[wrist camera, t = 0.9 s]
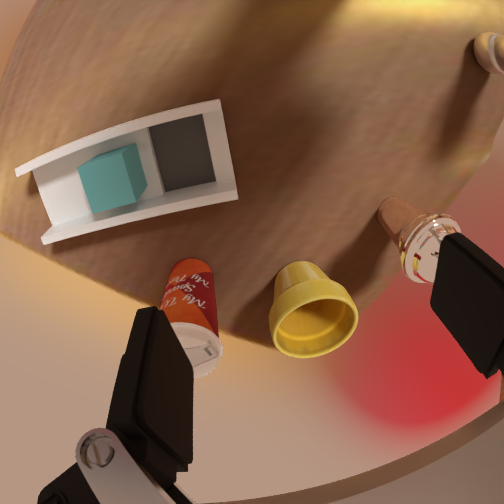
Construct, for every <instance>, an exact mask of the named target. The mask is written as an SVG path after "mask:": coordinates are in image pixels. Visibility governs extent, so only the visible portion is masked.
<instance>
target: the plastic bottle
mask: <svg viewBox="0 0 504 504" xmlns="http://www.w3.org/2000/svg"><path fill="white" fill-rule="evenodd" d="M473 49H474V54H475V57H476V59H477V61H478V63H479V64H480V65H481V66H482V67H483V68H484V69H485V70H486V71H488V72H490V73H493V74H497V75H503V74H504V35H500V34H497V33H492V32H485V33H481V34H479V35H478V36H477V37H476V39H475V40H474V45H473Z"/></svg>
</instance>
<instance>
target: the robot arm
mask: <svg viewBox="0 0 504 504" xmlns="http://www.w3.org/2000/svg"><path fill="white" fill-rule="evenodd" d="M430 304H431V308H432V309H433V311H434V312H435V313H436V315H437V316H438V317H439V319H440V320H441V321H442V322H443V324H444V325H445V326H446V328H447V329H448V330H449V331H450V333H451V334H452V335H453V337H454V338H455V340H456V341H457V342H458V343H459V345H460V346H461V348H462V349H463V350H464V352H465V353H466V355H467V356H468V357H469V359H470V360H471V361H472V363H473V364H474V366H475V367H476V369H477V370H478V371H479V372H480V373H483V374H484V376H485V378H486V379H488V378H489V377H491V376H492V375H494V374H495V373H497V371H498V369H500V371H501V389H500V401H499V403H498V404H497V405H496V406H494V407H493V408H491V409H490V410H488V411H487V412H485V413H484V414H483V415H481V416H479V417H478V418H476V419H475V420H473V421H471V422H470V423H468V424H466V425H465V426H463V427H461V428H460V429H458V430H457V431H455V432H453V433H451V434H449V435H447V436H446V437H444V438H442V439H440V440H438V441H436V442H434V443H432V444H430V445H429V446H427V447H424V448H422V449H420V450H418V451H416V452H414V453H412V454H410V455H407V456H405V457H403V458H401V459H398V460H395V461H393V462H391V463H388V464H386V465H383V466H380V467H378V468H375V469H372V470H370V471H367V472H364V473H361V474H358V475H355V476H352V477H349V478H346V479H343V480H339V481H336V482H332V483H329V484H325V485H321V486H317V487H313V488H309V489H305V490H300V491H296V492H291V493H286V494H280V495H274V496H268V497H262V498H255V499H248V500H240V501H231V502H220V503H204V504H504V268H503V267H502V266H501V265H500V264H499V263H497V262H496V261H495V260H494V259H493V258H491V257H490V256H489V255H488V254H487V253H485V252H484V251H483V250H482V249H480V248H479V247H478V246H477V245H475V244H474V243H473V242H472V241H470V240H469V239H468V238H466V237H465V236H464V235H462V234H461V233H459V232H455V233H452V234H448V235H446V236H444V238H443V240H442V241H441V243H440V249H439V255H438V262H437V268H436V274H435V279H434V285H433V290H432V295H431V300H430ZM193 380H194V371H193V367H192V364H191V362H190V360H189V358H188V356H187V355H186V353H185V351H184V349H183V347H182V345H181V343H180V341H179V339H178V338H177V336H176V334H175V332H174V330H173V328H172V326H171V324H170V322H169V320H168V318H167V316H166V314H165V312H164V311H163V310H162V309H161V310H158V308H157V307H156V306H152V307H147V308H142V309H138V310H137V312H136V316H135V319H134V322H133V326H132V330H131V333H130V337H129V341H128V344H127V348H126V352H125V354H124V355H123V356H122V358H121V362H120V366H119V370H118V374H117V378H116V382H115V386H114V391H113V395H112V400H111V405H110V409H109V414H108V419H107V424H106V428H95V429H92V430H90V431H88V432H86V433H85V434H84V435H83V436H82V437H81V439H80V440H79V442H78V444H77V447H76V460H77V462H76V463H75V464H74V465H73V466H71V467H70V468H69V469H67V470H66V471H65V472H64V473H62V474H61V475H60V476H59V477H57V478H56V479H55V480H54V481H52V482H51V483H50V484H48V485H47V486H46V487H44V489H43V490H42V491H41V492H40V494H39V496H38V502H37V504H196V503H195V502H194V501H193V500H192V499H191V498H190V497H189V496H188V495H187V494H186V493H185V492H184V491H183V490H182V489H181V488H180V487H179V486H178V485H177V483H176V472H188V464H191V463H192V461H193V382H194V381H193Z"/></svg>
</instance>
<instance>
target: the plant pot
mask: <svg viewBox="0 0 504 504" xmlns="http://www.w3.org/2000/svg"><path fill="white" fill-rule="evenodd" d="M357 323H358V311H357V308H356V306H355V304H354V302H353V301H352V299H351V297H350V295H349V294H348V292H347V291H346V289H345V288H344V287H343V286H342V285H340V284H339V283H337V282H335V281H332V280H330V279H329V278H328V277H327V276H326V275H325V274H324V273H323V272H322V271H321V270H320V269H319V268H318V267H317V266H316V265H315V264H313V263H311V262H307V261H297V262H293V263H290V264H288V265H286V266H285V267H284V268H282V269H281V270H280V271H279V273H278V274H277V276H276V279H275V289H274V303H273V305H272V307H271V310H270V313H269V326H270V332H271V337H272V341H273V343H274V345H275V347H276V348H277V349H278V350H279V351H280V352H282V353H283V354H285V355H288V356H290V357H295V358H312V357H317V356H321V355H323V354H326V353H329V352H331V351H333V350H334V349H336V348H338V347H339V346H341V345H342V344H343V343H344V342H346V341H347V340H348V339H349V338H350V336H351V335H352V334H353V332H354V330H355V328H356V326H357Z"/></svg>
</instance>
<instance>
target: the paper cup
mask: <svg viewBox="0 0 504 504" xmlns="http://www.w3.org/2000/svg"><path fill="white" fill-rule="evenodd" d="M161 309H162V310H163V311H164V312H165V314H166V316H167V318H168V320H169V322H170V324H171V326H172V328H173V330H174V332H175V334H176V336H177V338H178V339H179V341H180V343H181V345H182V347H183V349H184V351H185V353H186V355H187V356H188V358H189V360H190V362H191V364H192V367H193V371H194V378H199V377H202V376H205V375H207V374H209V373H211V372H212V371H213V370H214V369H215V368H216V367H217V365H218V362H219V360H220V359H221V357H222V354H223V346H222V343H221V341H220V339H219V334H218V323H217V309H216V300H215V290H214V280H213V274H212V271H211V269H210V267H209V266H208V265H207V264H206V263H205V262H203V261H201V260H198V259H194V258H188V259H184V260H181V261H179V262H178V263H177V264H176V265H175V266H174V267H173V269H172V271H171V274H170V277H169V280H168V283H167V286H166V289H165V292H164V295H163V298H162V302H161V305H160V308H159V310H161Z"/></svg>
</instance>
